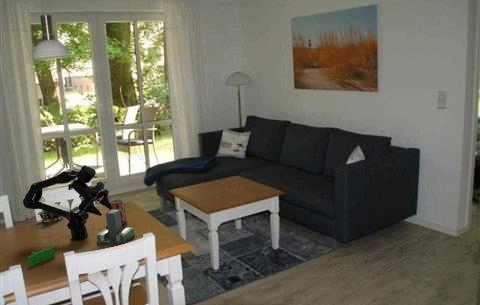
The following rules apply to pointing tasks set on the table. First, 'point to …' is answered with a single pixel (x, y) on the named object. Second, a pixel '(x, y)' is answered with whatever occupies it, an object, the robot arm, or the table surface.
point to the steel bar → (113, 223)
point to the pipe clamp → (41, 256)
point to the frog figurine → (49, 217)
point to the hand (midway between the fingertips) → (106, 212)
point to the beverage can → (119, 206)
